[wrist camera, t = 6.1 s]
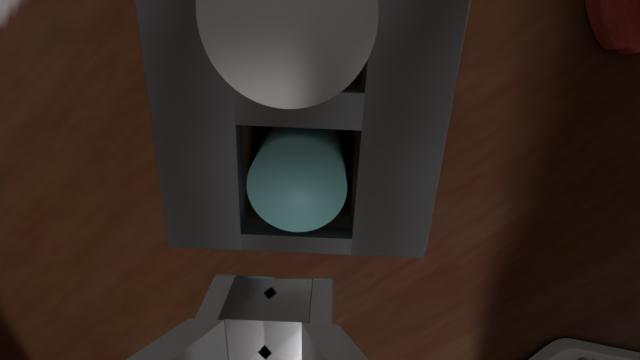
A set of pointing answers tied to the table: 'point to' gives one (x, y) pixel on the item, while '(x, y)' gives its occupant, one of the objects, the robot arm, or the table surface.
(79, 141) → the table surface
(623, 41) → the stacking bear
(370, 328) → the table surface
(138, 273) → the table surface
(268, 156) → the teal peg
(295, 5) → the grey peg
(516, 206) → the table surface
